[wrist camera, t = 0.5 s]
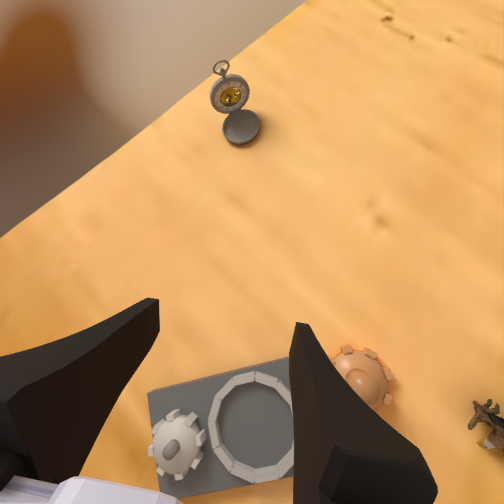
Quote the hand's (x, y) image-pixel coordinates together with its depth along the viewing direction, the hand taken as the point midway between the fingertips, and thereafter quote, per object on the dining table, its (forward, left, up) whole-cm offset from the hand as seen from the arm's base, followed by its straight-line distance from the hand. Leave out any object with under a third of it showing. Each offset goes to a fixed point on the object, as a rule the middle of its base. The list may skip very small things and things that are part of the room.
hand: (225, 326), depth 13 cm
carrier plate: (-12, +9, -25) cm, 29 cm away
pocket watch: (+34, -4, -25) cm, 42 cm away
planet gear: (-10, -9, -25) cm, 28 cm away
